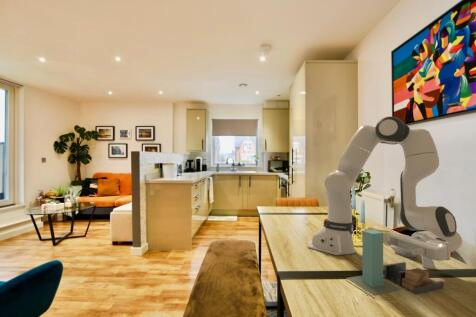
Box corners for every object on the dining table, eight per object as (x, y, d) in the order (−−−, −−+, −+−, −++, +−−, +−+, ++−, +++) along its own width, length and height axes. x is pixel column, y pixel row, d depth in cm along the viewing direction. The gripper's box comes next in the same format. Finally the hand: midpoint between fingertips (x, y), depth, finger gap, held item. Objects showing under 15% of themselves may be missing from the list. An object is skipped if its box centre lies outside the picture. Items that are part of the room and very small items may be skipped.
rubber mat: (374, 298, 76) (374, 295, 76) (346, 280, 88) (346, 278, 88) (402, 292, 80) (402, 289, 80) (371, 276, 91) (371, 273, 91)
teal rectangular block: (372, 287, 81) (372, 233, 82) (362, 281, 85) (362, 230, 85) (383, 285, 83) (383, 232, 83) (373, 279, 87) (373, 229, 87)
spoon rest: (385, 249, 121) (385, 235, 121) (411, 251, 120) (411, 236, 120) (414, 270, 97) (414, 252, 98) (446, 272, 96) (446, 254, 96)
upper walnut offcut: (416, 283, 79) (416, 275, 79) (405, 278, 82) (405, 271, 82) (428, 279, 82) (428, 272, 82) (417, 275, 85) (417, 268, 85)
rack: (415, 297, 77) (415, 281, 77) (379, 278, 90) (379, 264, 90) (443, 291, 81) (443, 276, 81) (404, 273, 94) (404, 260, 94)
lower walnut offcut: (413, 291, 79) (413, 283, 79) (401, 285, 83) (401, 278, 83) (432, 287, 82) (432, 280, 82) (420, 281, 85) (420, 274, 86)
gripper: (398, 228, 102) (373, 230, 98) (455, 243, 82) (426, 247, 78) (398, 243, 102) (373, 246, 97) (455, 262, 82) (427, 267, 78)
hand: (397, 247), depth 88 cm, fingers open, 8 cm apart
